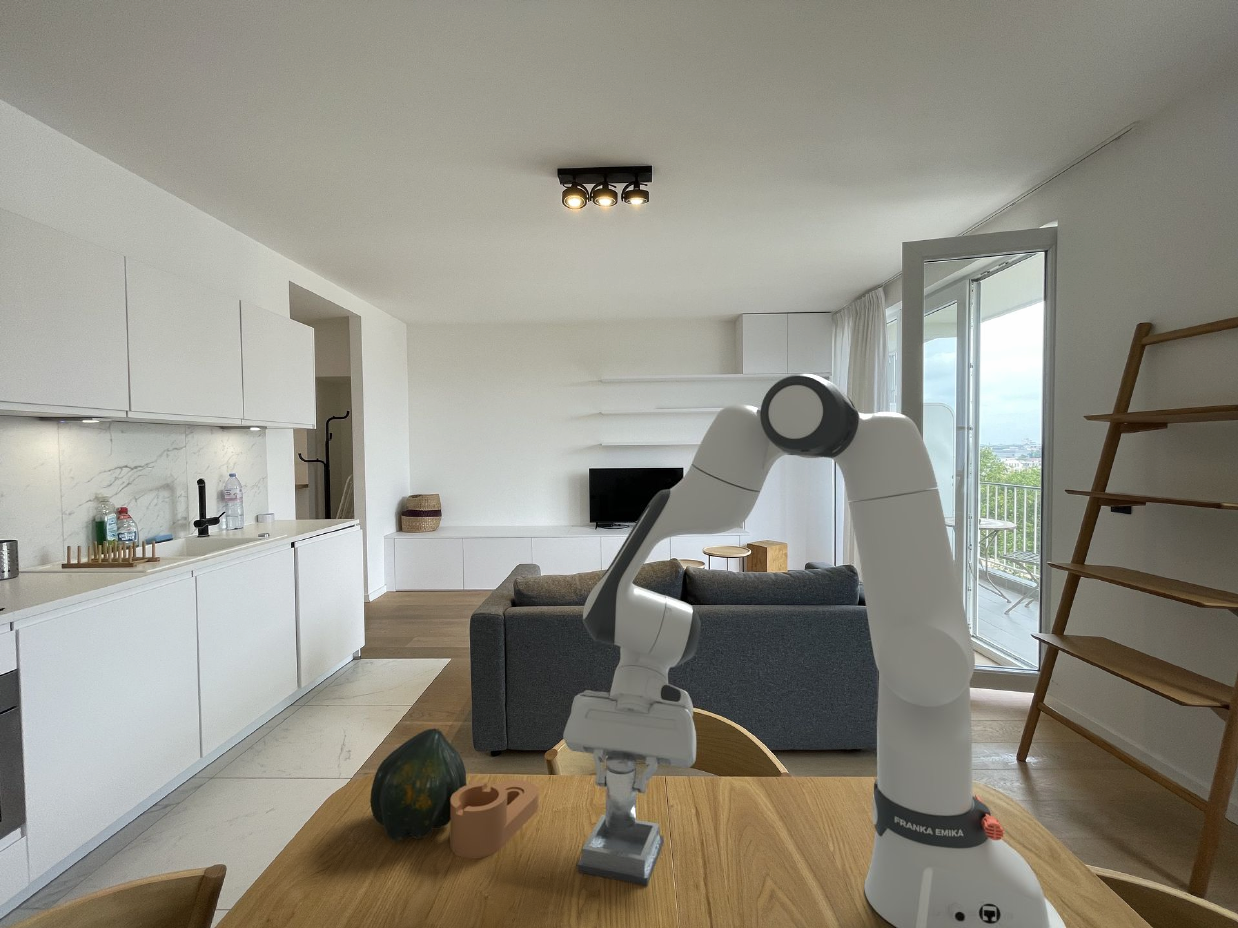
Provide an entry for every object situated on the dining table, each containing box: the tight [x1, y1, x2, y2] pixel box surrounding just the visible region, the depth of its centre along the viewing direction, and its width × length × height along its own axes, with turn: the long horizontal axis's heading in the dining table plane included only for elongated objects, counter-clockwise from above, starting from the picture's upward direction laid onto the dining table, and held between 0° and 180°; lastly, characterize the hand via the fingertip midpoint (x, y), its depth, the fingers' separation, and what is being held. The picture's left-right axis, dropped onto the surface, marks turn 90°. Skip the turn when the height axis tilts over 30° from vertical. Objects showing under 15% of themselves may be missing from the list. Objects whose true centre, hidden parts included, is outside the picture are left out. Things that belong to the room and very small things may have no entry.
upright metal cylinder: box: [605, 753, 637, 831], centre depth 89 cm, size 4×4×9 cm
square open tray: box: [576, 813, 665, 886], centre depth 89 cm, size 10×10×3 cm
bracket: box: [449, 779, 539, 859], centre depth 97 cm, size 18×8×7 cm, turn 158°
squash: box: [369, 727, 468, 841], centre depth 97 cm, size 14×15×15 cm
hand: (619, 788), depth 88 cm, fingers closed on upright metal cylinder, 4 cm apart
